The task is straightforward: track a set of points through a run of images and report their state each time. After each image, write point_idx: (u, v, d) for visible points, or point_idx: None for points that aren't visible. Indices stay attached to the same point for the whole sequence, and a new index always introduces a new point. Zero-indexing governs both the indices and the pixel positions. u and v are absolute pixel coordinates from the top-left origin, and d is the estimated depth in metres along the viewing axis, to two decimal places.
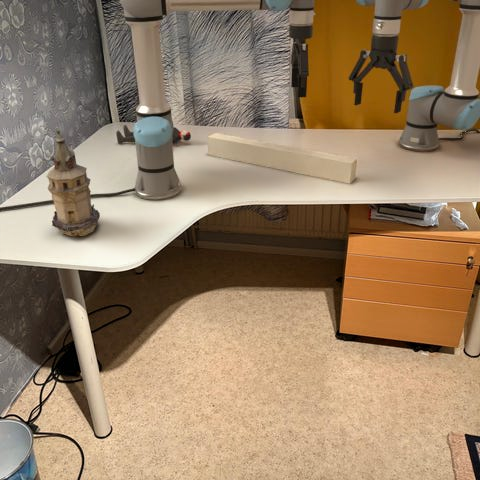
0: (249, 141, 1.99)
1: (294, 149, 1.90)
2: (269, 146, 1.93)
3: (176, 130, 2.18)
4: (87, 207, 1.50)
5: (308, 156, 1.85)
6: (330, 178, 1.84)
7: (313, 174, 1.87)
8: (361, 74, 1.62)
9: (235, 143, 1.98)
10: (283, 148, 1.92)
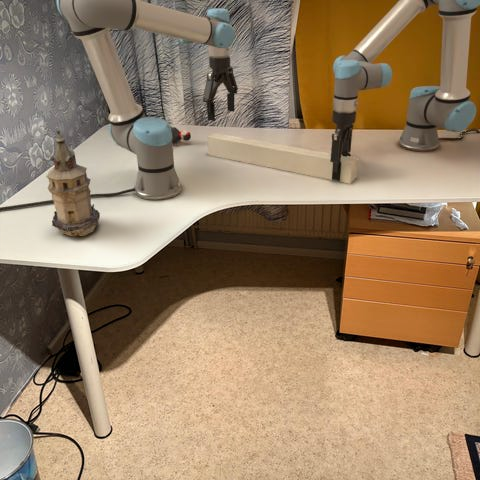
0: (249, 140, 1.99)
1: (294, 149, 1.90)
2: (269, 146, 1.93)
3: (176, 130, 2.18)
4: (87, 207, 1.50)
5: (308, 156, 1.85)
6: (330, 178, 1.84)
7: (313, 174, 1.87)
8: (341, 152, 1.77)
9: (235, 143, 1.98)
10: (283, 148, 1.92)
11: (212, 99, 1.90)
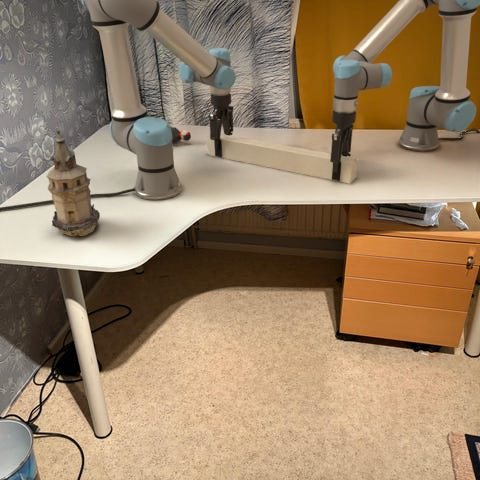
0: (249, 140, 1.99)
1: (294, 149, 1.90)
2: (269, 146, 1.93)
3: (176, 130, 2.18)
4: (87, 207, 1.50)
5: (308, 156, 1.85)
6: (330, 178, 1.84)
7: (313, 174, 1.87)
8: (341, 152, 1.77)
9: (235, 143, 1.98)
10: (283, 148, 1.92)
11: (219, 137, 2.00)
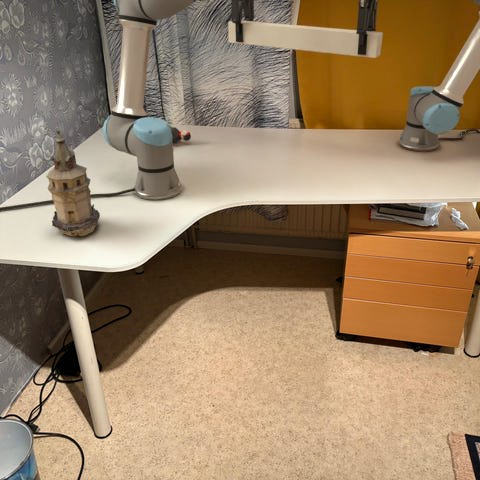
0: (271, 23, 1.96)
1: (318, 27, 1.88)
2: (292, 26, 1.90)
3: (176, 130, 2.18)
4: (87, 207, 1.50)
5: (333, 32, 1.82)
6: (355, 54, 1.82)
7: (337, 51, 1.84)
8: (367, 22, 1.75)
9: (257, 25, 1.95)
10: (307, 27, 1.89)
11: (240, 19, 1.96)
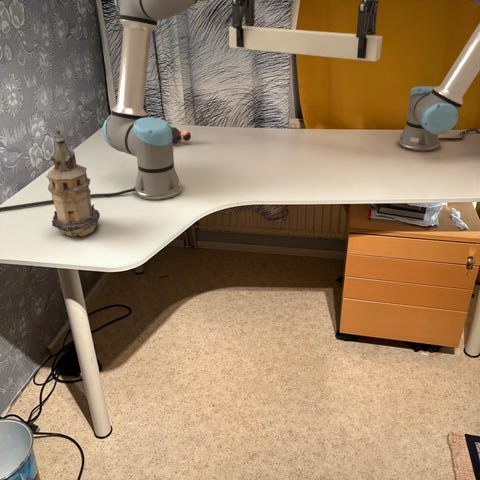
0: (271, 28, 1.97)
1: (318, 32, 1.89)
2: (292, 31, 1.92)
3: (176, 130, 2.18)
4: (87, 207, 1.50)
5: (332, 36, 1.84)
6: (355, 58, 1.83)
7: (337, 55, 1.86)
8: (367, 26, 1.76)
9: (258, 30, 1.97)
10: (307, 31, 1.90)
11: (241, 24, 1.98)
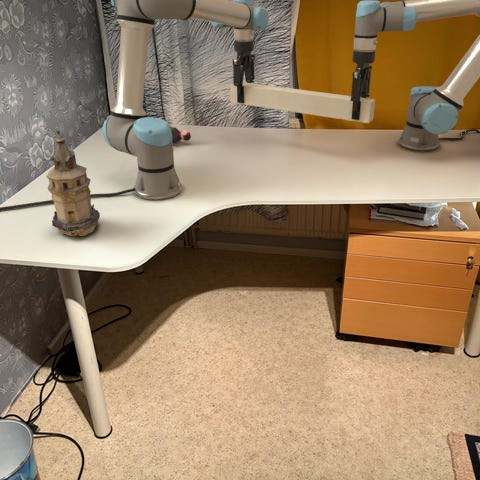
0: (270, 87, 2.08)
1: (314, 92, 1.99)
2: (290, 90, 2.02)
3: (176, 130, 2.18)
4: (87, 207, 1.50)
5: (328, 98, 1.94)
6: (349, 119, 1.93)
7: (333, 116, 1.96)
8: (361, 91, 1.86)
9: (257, 89, 2.07)
10: (304, 92, 2.01)
11: (241, 83, 2.09)
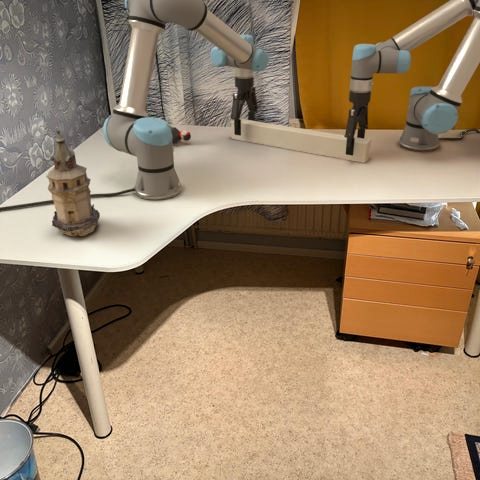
0: (270, 125, 2.15)
1: (312, 132, 2.07)
2: (289, 129, 2.10)
3: (176, 130, 2.18)
4: (87, 207, 1.50)
5: (326, 138, 2.01)
6: (346, 158, 2.01)
7: (330, 154, 2.04)
8: (355, 128, 1.91)
9: (257, 127, 2.15)
10: (302, 131, 2.08)
11: (239, 116, 2.13)
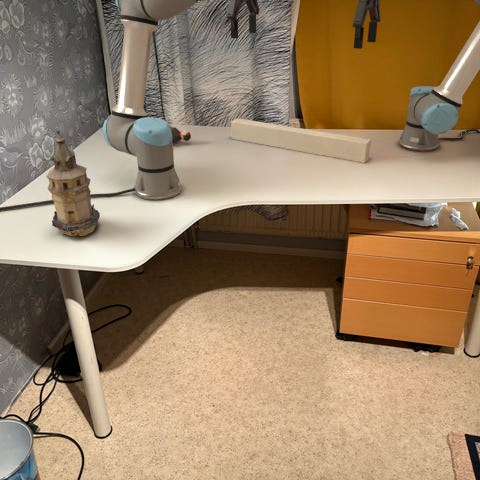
0: (270, 125, 2.15)
1: (312, 132, 2.07)
2: (289, 129, 2.10)
3: (176, 130, 2.18)
4: (87, 207, 1.50)
5: (326, 138, 2.01)
6: (346, 158, 2.01)
7: (330, 154, 2.04)
8: (365, 17, 1.72)
9: (257, 127, 2.15)
10: (302, 131, 2.08)
11: (236, 15, 1.94)
